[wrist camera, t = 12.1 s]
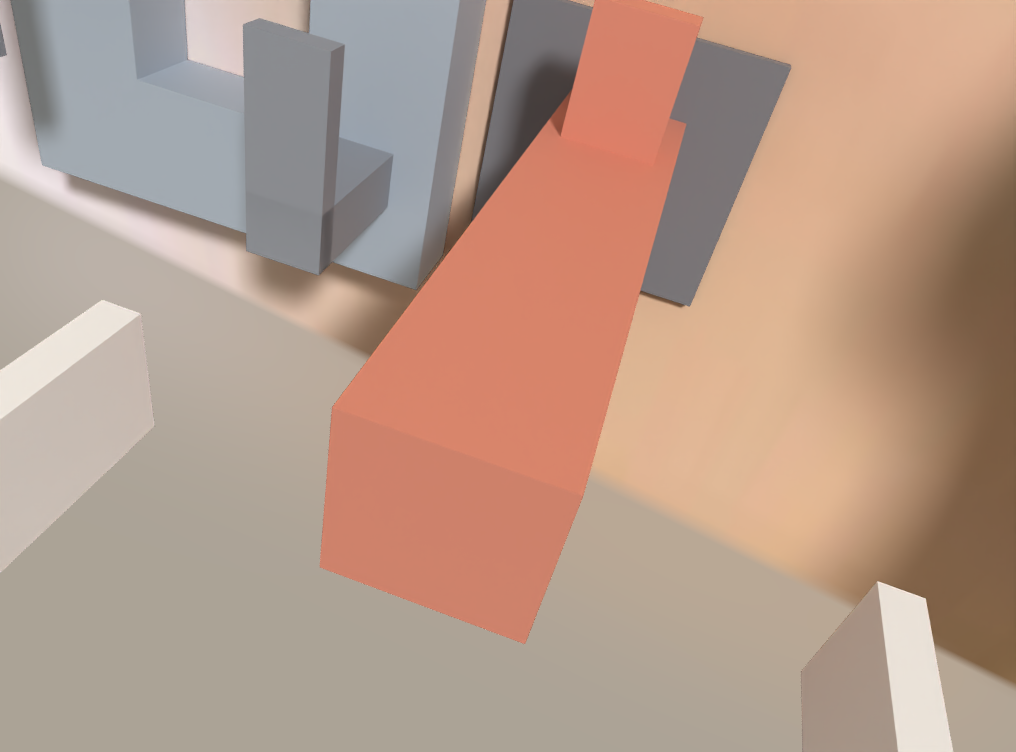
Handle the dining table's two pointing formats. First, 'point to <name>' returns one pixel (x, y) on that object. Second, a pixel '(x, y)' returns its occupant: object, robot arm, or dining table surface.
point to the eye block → (267, 121)
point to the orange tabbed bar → (513, 349)
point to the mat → (699, 103)
